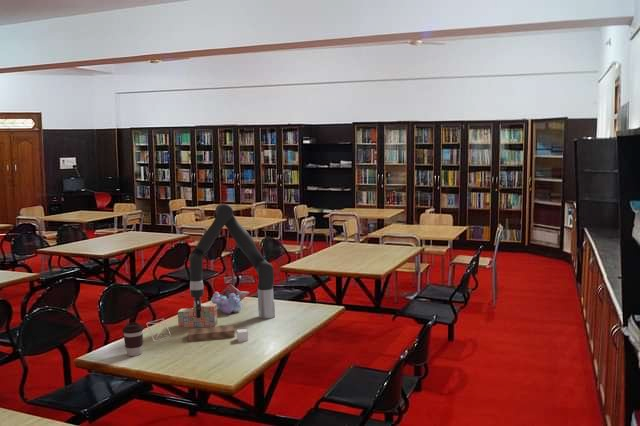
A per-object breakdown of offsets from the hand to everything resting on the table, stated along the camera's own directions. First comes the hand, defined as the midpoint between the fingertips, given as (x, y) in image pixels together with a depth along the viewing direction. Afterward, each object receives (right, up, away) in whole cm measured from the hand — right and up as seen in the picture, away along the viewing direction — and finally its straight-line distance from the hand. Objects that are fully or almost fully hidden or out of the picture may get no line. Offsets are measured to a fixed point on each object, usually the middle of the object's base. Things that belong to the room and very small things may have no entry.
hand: (198, 315), depth 329 cm
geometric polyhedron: (-17, -9, -20) cm, 27 cm away
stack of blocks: (0, -6, +1) cm, 6 cm away
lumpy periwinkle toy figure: (+13, -2, +31) cm, 34 cm away
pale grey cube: (+29, -8, -27) cm, 41 cm away
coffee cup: (-22, -11, -44) cm, 51 cm away
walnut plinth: (+11, -8, -20) cm, 24 cm away
